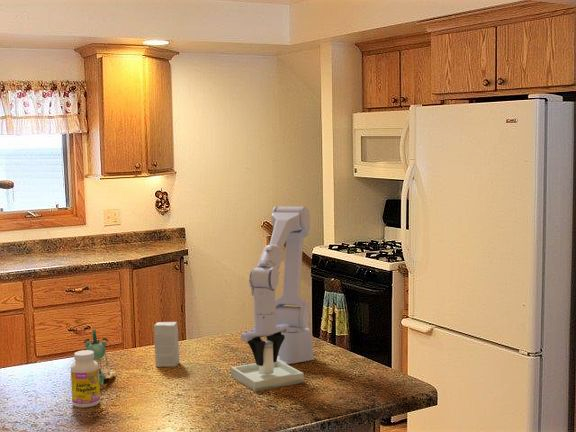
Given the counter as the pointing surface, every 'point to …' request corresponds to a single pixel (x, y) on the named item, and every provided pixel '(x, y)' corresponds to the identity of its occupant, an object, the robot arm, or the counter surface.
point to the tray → (267, 376)
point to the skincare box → (166, 344)
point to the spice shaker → (267, 359)
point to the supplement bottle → (85, 380)
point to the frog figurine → (99, 357)
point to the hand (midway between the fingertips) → (266, 363)
